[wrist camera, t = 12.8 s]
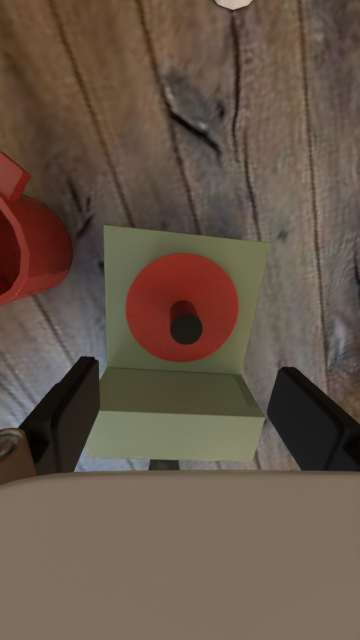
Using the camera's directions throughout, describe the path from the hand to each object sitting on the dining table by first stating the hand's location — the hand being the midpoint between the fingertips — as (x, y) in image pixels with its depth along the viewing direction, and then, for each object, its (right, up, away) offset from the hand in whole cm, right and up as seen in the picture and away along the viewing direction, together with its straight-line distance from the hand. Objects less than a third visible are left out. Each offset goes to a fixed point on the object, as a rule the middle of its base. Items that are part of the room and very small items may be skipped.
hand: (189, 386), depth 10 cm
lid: (0, +4, +12) cm, 13 cm away
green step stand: (-1, +4, +19) cm, 19 cm away
